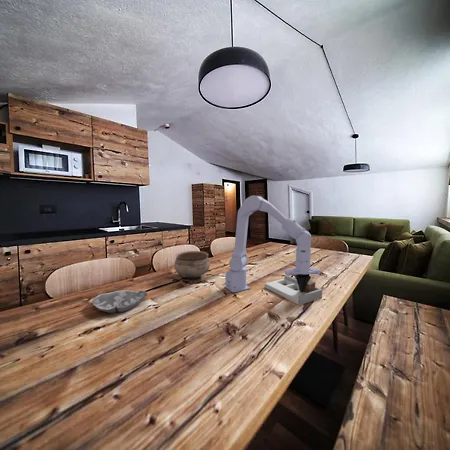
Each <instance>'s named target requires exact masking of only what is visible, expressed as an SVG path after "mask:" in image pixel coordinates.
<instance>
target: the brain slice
mask: <svg viewBox="0 0 450 450" xmlns="http://www.w3.org/2000/svg"><path fill="white" fill-rule="evenodd" d="M146 296H147V291H146V290H132V289H131V290H128V289H124V290H123V289H122V290H116V291H112V292H107V293H100V294H98V295H97V296H95V297H94V298H93V300H91V304H92V305H93V307H94V308H96V309H97V310H98V311H100V312H101V311H102V312H105V313H108V314H111V313H114V314H115V313H117V312H118V313H124V312H127V311H129V310H132V309H133V308H136V307H137V306H139V305H140V304H141V303H142V302H143V301H144V300H145V298H146Z"/></svg>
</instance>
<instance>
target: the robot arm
mask: <svg viewBox="0 0 450 450" xmlns="http://www.w3.org/2000/svg"><path fill="white" fill-rule="evenodd" d="M257 211H260V212H265V213H267V214H269V215H270V216H271V217H272V218H274V219H275V220H276V221H277V222H279V223H280V224H281V229H282V230H283V231H284V232H285V233H287V234H288V235H289V236H290V237H291V238H292V239H295V241H296V248H295V268H293V269H291V268H290V269H285V270H284V276H285V275H286V276H289V277H290V276H294V277H295V278H294V279H296V280H297V282H298V286H299V289H298V290H299V291H300V292H304V291H305V288H306V285H307V283H308V282H309V280H310V281H311V276H310V275H318V276H319V275H320V274H321V270H320V269H319V268H311V256H312V253H311V252H312V250H311V247H312V246H311V245H312V235H311V233H310V232H309V231H308V230H306V228H305V227H302V226H301V225H300V224H299V223H298V222H297V220H296V219H295V218H294V219H293V218H292V217H291V218H290V217H289V218H287V217H286V216H285V215H284V214H282V212H281V211H279V209H277V207H275V206H274V205H273V204H272V203H271V202H270V201H268V200H267V199H265V198H264V197H263V196H260V195H250V196H248V197H247V198H245V199H244V201H243V203H242V204H241V206H240V207H239V209H238V210H237V217H236V230H235V240H234V250H233V252H232V254H231V258H230V260H229V262H228V265H229V268H230V269H229V270H228V271H226V273H225V276H224V277H225V285H224V288H226V289H228V291H230V292H232V293H238V292H241V291H245V290H249V289H250V288H251V287H250V286H248V285H247V267H246V265H247V264H248V262H249V260H248V255H247V253H248V252H247V249H246V248H247V247H246V246H247V238H248V227H249V219H250V216H251V215H252V214H254V213H255V212H257Z"/></svg>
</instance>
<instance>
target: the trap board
mask: <svg viewBox="0 0 450 450" xmlns="http://www.w3.org/2000/svg"><path fill="white" fill-rule="evenodd" d="M264 288H266V289H267V290H269V291H271V292H273V293H275V294H277V295H278V296H281V297H283V298H285V299H287V300H289V301H291V302H293V303H294V304H296V305H299V306H302V305H305V304H306V303H307V304H308V303H310V302H312V301H315V300H316V301H317V300H319V299H321V298H323V288H319V287H316V286H315V291H313V292H309V293H306V292H300V291H299V286H298V282H297V280H296V278H294V277H292V276H290V275H289V276H286V275H285V274H284V277H283V278H281V279H277V280H274V281H268V282H265V283H264ZM295 289H297V290H295Z"/></svg>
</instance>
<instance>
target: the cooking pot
mask: <svg viewBox="0 0 450 450" xmlns="http://www.w3.org/2000/svg"><path fill="white" fill-rule="evenodd" d="M175 257H176V258H175V261H174V265H173V266H174V270H175V271H176V273H177V274H178V275H180V276H182V277H184V278H186V279H189V280H194V279H195V280H196V279H198V278H199V277H201V276H203V275H205V274H206V273H207V272H208V271H209V269H210V266H211V262H210V258H209V253H207V252H205V251H199V250H191V251H190V250H188V251H182V252H179V253H176V254H175Z"/></svg>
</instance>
